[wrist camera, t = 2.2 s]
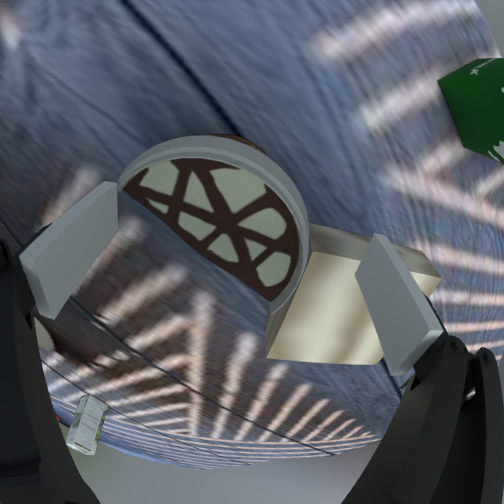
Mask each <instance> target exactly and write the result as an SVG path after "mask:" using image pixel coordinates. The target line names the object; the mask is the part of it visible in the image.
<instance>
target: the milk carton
mask: <svg viewBox="0 0 504 504" xmlns="http://www.w3.org/2000/svg"><path fill="white" fill-rule="evenodd" d="M438 83H439V85H440V87H441V90H442V92H443V94H444V96H445V98H446V101H447V103H448V105H449V108H450V110H451V113H452V115H453V118H454V121H455V123H456V126H457V129H458V131H459V134H460V137H461V140H462V143H463V146H464V148H467V149H469V150H472V151H474V152H477V153H479V154H482V155H484V156H487V157H489V158H491V159H494V160H496V161H498V162H500V163H502V164H503V165H504V59H503V58H485V59H477V60H475V61H473V62H472V63H470V64H468V65H466V66H464V67H462V68H460V69H458V70H456V71H454V72H453V73H451V74H449V75H447V76H445V77H443V78H442V79H440V80H438Z"/></svg>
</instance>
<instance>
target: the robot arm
mask: <svg viewBox="0 0 504 504" xmlns="http://www.w3.org/2000/svg"><path fill="white" fill-rule="evenodd" d="M117 232H118V211H117V183H114V182H107V181H104V182H103V183H101V184H100V185H99V186H97V187H96V188H95V189H93V190H92V191H91V192H89V193H88V194H87V195H86V196H84V197H83V198H82V199H81V200H79V201H78V202H77V203H76V204H75V205H73V206H72V207H71V208H70V209H69V210H67V211H66V212H65V213H64V214H63V215H62V216H60V217H59V218H58V219H57V220H56V221H55V222H54V223H51V224H49V225H47V226H45V227H43V228H42V229H41V230H39V231H38V232H37V233H36V234H35V236H33V237H32V238H31V239H30V241H28V242H27V243H26V244H25V245H24V246H23V247H22V248H21V249H20V250H19V251H18V252H17V253H16V254H15V255H14V256H13V257H12V256H11V253H10V250H9V246H8V243H7V241H6V240H5V239H2V238H0V503H1V504H100V502H99V500H98V499H97V497H96V495H95V494H94V492H93V491H92V490H91V488H90V487H89V486H88V485H87V484H86V483H85V482H84V480H83V479H82V477H81V476H80V474H79V472H78V469H77V467H76V465H75V463H74V461H73V459H72V456H71V454H70V452H69V449H68V447H67V445H66V442H65V440H64V437H63V434H62V432H61V429H60V426H59V424H58V421H57V418H56V415H55V412H54V409H53V405H52V402H51V399H50V395H49V392H48V388H47V384H46V380H45V376H44V372H43V368H42V363H41V358H40V353H39V348H38V342H37V336H36V329H35V322H34V315H33V312H32V310H31V309H32V308H33V306H34V305H35V304H36V305H37V308H38V310H39V313H40V314H41V315H43V316H46V317H48V318H51V319H53V320H55V318H56V316H57V315H58V313H59V312H60V310H61V309H62V307H63V305H64V304H65V302H66V301H67V299H68V298H69V296H70V295H71V293H72V292H73V291H74V289H75V288H76V286H77V285H78V283H79V282H80V280H81V279H82V278H83V276H84V275H85V273H86V272H87V271H88V269H89V268H90V267H91V265H92V264H93V263H94V261H95V260H96V259H97V257H98V256H99V255H100V253H101V252H102V251H103V249H104V248H105V247H106V246H107V244H108V243H109V242H110V241H111V239H112V238H113V237H114V236H115V234H116V233H117ZM354 275H355V278H356V280H357V282H358V285H359V287H360V290H361V292H362V295H363V298H364V300H365V303H366V305H367V308H368V311H369V313H370V316H371V319H372V321H373V324H374V327H375V330H376V333H377V335H378V338H379V341H380V344H381V347H382V350H383V353H384V356H385V359H386V362H387V365H388V369H389V372H390V375H405V374H406V373H407V372H408V371H409V370H410V369H411V368H412V366H413V367H414V370H415V373H414V374H413V375H412V376H411V377H410V378H409V379H408V380H407V381H406V382H405V383H404V384H403V385H402V386H401V387H400V388H401V389H403V388H404V387H405V386H407V387H406V390H405V392H404V394H403V397H402V399H401V401H400V404H399V406H398V408H397V410H396V412H395V414H394V417H393V419H392V421H391V423H390V425H389V427H388V429H387V431H386V433H385V435H384V436H383V438H382V440H381V442H380V444H379V446H378V448H377V449H376V451H375V453H374V455H373V456H372V458H371V460H370V461H369V463H368V465H367V466H366V468H365V470H364V471H363V473H362V474H361V476H360V478H359V479H358V480H357V482H356V483H355V485H354V486H353V488H352V489H351V491H350V492H349V493H348V495H347V496H346V498H345V499H344V500H343V502H342V503H341V504H502V496H503V489H504V406H503V397H502V390H501V383H500V377H499V371H498V366H497V361H496V359H495V357H494V354H493V353H492V352H491V351H490V350H488V349H487V348H485V347H482V348H480V349H479V350H478V351H477V352H476V353H475V354H472V353H469V352H468V350H467V348H466V346H465V344H464V343H463V342H462V341H461V340H460V339H459V338H457V337H455V336H451V335H450V336H449V335H448V333H447V331H446V329H445V327H444V325H443V323H442V322H441V320H440V318H439V316H438V314H436V313H437V312H436V311H435V309H434V308H433V305H432V304H431V302H430V300H429V298H428V297H427V296H426V295H425V294H424V293H423V292H422V291H421V289H420V288H419V286H418V284H417V283H416V281H415V279H414V278H413V276H412V274H411V273H410V271H409V270H408V268H407V267H406V265H405V263H404V262H403V260H402V259H401V257H400V256H399V254H398V253H397V251H396V250H395V248H394V247H393V245H392V244H391V243H390V241H389V240H388V238H387V237H386V236H384V235H380V234H376V233H374V234H373V237H372V239H371V241H370V243H369V245H368V248H367V250H366V252H365V254H364V256H363V258H362V260H361V262H360V264H359V266H358V268H357V270H356V272H355V274H354ZM474 389H475V395H474V396H473V397H472V398H471V399H470V400H468V399H467V395H469V394H470V393H471V392H472V391H473V390H474Z"/></svg>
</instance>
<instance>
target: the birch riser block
mask: <svg viewBox="0 0 504 504" xmlns="http://www.w3.org/2000/svg"><path fill="white" fill-rule="evenodd" d="M371 239H372V238H370V237H366V236H362V235H358V234H354V233H350V232H346V231H342V230H338V229H334V228H329V227H325V226H321V225H316V224H312V223H309V248H308V257H307V262H306V266H305V270H304V272H303V275H302V277H301V279H300V281H299V283H298V285H297V288H296V289H295V291H294V292H293V294H292V295H291V297H290V298H289V300H288V301H287V302H286V303H285V304H284V305H283V306H282V307H281V308H280V309H279V310H277V311H276V312H275V313H274V314H272V315H270V316H269V319H268V321H267V324H266V358H272V359H281V360H292V361H303V362H317V363H334V364H365V365H376V364H377V363H378V362H379V361H380V359H381V358H382V357H383V356H384V353H383V350H382V347H381V344H380V341H379V338H378V335H377V333H376V330H375V327H374V324H373V321H372V319H371V316H370V313H369V311H368V308H367V305H366V303H365V300H364V298H363V295H362V292H361V290H360V287H359V285H358V282H357V280H356V278H355V275H354V274H355V272H356V270H357V268H358V266H359V264H360V262H361V260H362V258H363V256H364V254H365V252H366V250H367V248H368V245H369V243H370V241H371ZM391 244H392V245H393V247H394V248H395V250H396V251H397V253H398V254H399V256H400V257H401V259H402V260H403V262H404V263H405V265H406V267H407V268H408V270H409V271H410V273H411V274H412V276H413V278H414V279H415V281H416V283H417V284H418V286H419V288H420V289H421V291H422V292H423V293H424V294H425V295H426V296H427V297H428V298H429V297H430V296H431V294H432V293H433V291H434V290H435V288H436V287H437V285H438V284H439V282H440V281H441V279H442V278H441V276H440V275H439V273H438V272H437V271H436V269H435V268H434V266H433V265H432V264H431V262H430V261H429V260H428V258H427V257H426V256H425V254H424V253H423V252H422V251H419V250H416V249H412V248H408V247H405V246H401V245H397V244H393V243H391Z"/></svg>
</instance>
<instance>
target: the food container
mask: <svg viewBox="0 0 504 504" xmlns="http://www.w3.org/2000/svg"><path fill="white" fill-rule="evenodd" d="M116 183H117V193H119V192H120V191H122V190H124V191H125V192H126V193H127V194H129V195H130V196H131V198H132V199H134V200H136V201H138V202H139V203H140V204H142V205H143V206H145V207H146V208H147V209H148V210H150V211H151V212H152V213H153V214H155V215H156V216H157V217H158V218H159V219H161V220H162V221H163V222H164V223H165V224H166V225H168V226H169V227H170V228H171V229H172V230H173V231H174V232H175V233H176V234H177V235H178V236H180V237H181V238H182V239H183V240H184V241H185V242H186V243H187V244H188V245H189V246H191V247H192V248H193V249H194V250H195V251H196V252H197V253H199V254H200V255H201V256H203V257H204V258H206V259H207V260H209V261H211V262H212V263H214V264H215V265H217V266H219V267H220V268H222V269H224V270H225V271H227V272H229V273H230V274H232V275H233V276H235V277H236V278H238V279H239V280H240V281H242V282H243V283H245V284H246V285H247V286H249V287H250V288H251V289H253V290H254V291H256V292H257V293H258V294H260V295H261V296H262V297H264V298H265V299H266V300H268V301H269V308H270V315H272V314H274V313H275V312H276V311H277V310H279V309H280V308H281V307H282V306H283V305H284V304H285V303H286V302H287V301H288V300H289V298H290V297H291V295H292V294H293V292H294V291H295V289H296V288H297V285H298V283H299V281H300V279H301V277H302V275H303V272H304V270H305V266H306V262H307V257H308V248H309V221H308V215H307V210H306V207H305V205H304V202H303V199H302V197H301V195H300V193H299V191H298V190H297V188H296V186H295V184H294V183H293V181H292V180H291V179H290V178H289V176H288V175H287V174H286V173H285V172H284V171H283V169H282V168H281V167H280V166H278V165H277V164H276V163H275V162H274V161H272V160H271V159H270V158H269V157H268V156H267V155H266V154H265V152H264V151H263V150H262V149H261V148H259V147H258V146H257V145H256V144H254V143H253V142H251V141H249V140H247V139H245V138H242V137H239V136H236V135H230V134H214V135H208V136H186V137H180V138H175V139H171V140H168V141H166V142H163V143H160V144H157V145H155V146H153V147H152V148H150V149H148V150H147V151H145V152H143V153H142V154H140V155H139V156H138V157H137V158H136V159H135V160H133V161H132V162H131V163H130V164H129V165H128V166H127V168H126V169H125V170H124V171H123V173H122V174H121V175H120V177H119V178H118V180H117V182H116Z"/></svg>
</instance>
